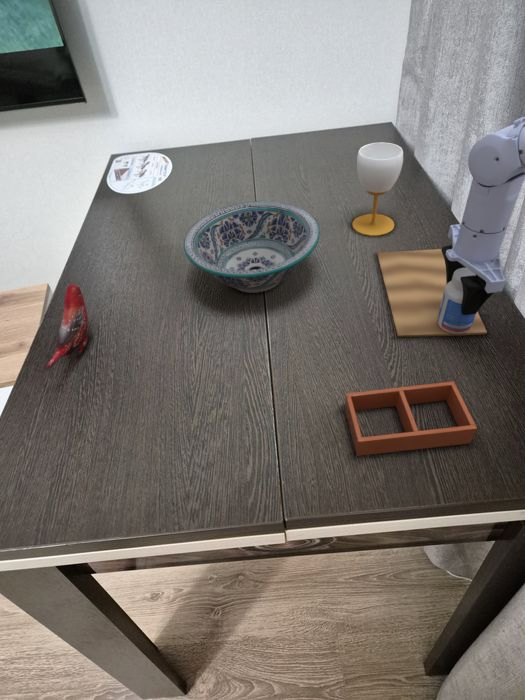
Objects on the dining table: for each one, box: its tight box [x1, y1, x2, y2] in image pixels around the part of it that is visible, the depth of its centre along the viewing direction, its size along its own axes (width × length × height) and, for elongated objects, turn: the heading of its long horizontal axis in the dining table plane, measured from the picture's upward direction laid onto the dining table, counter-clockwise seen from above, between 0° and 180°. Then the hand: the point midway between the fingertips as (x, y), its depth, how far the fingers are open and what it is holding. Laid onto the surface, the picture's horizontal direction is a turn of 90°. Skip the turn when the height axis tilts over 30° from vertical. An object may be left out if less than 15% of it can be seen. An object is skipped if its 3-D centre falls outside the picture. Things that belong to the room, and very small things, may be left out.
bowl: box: [183, 200, 321, 294], centre depth 84 cm, size 25×25×10 cm
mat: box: [376, 248, 488, 339], centre depth 79 cm, size 24×14×1 cm, turn 178°
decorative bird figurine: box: [45, 283, 90, 371], centre depth 72 cm, size 3×18×10 cm, turn 178°
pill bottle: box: [437, 268, 476, 334], centre depth 69 cm, size 6×5×10 cm
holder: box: [344, 380, 478, 457], centre depth 59 cm, size 15×8×4 cm, turn 94°
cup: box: [352, 141, 404, 237], centre depth 90 cm, size 9×9×16 cm
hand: (460, 300), depth 69 cm, fingers closed on pill bottle, 5 cm apart
